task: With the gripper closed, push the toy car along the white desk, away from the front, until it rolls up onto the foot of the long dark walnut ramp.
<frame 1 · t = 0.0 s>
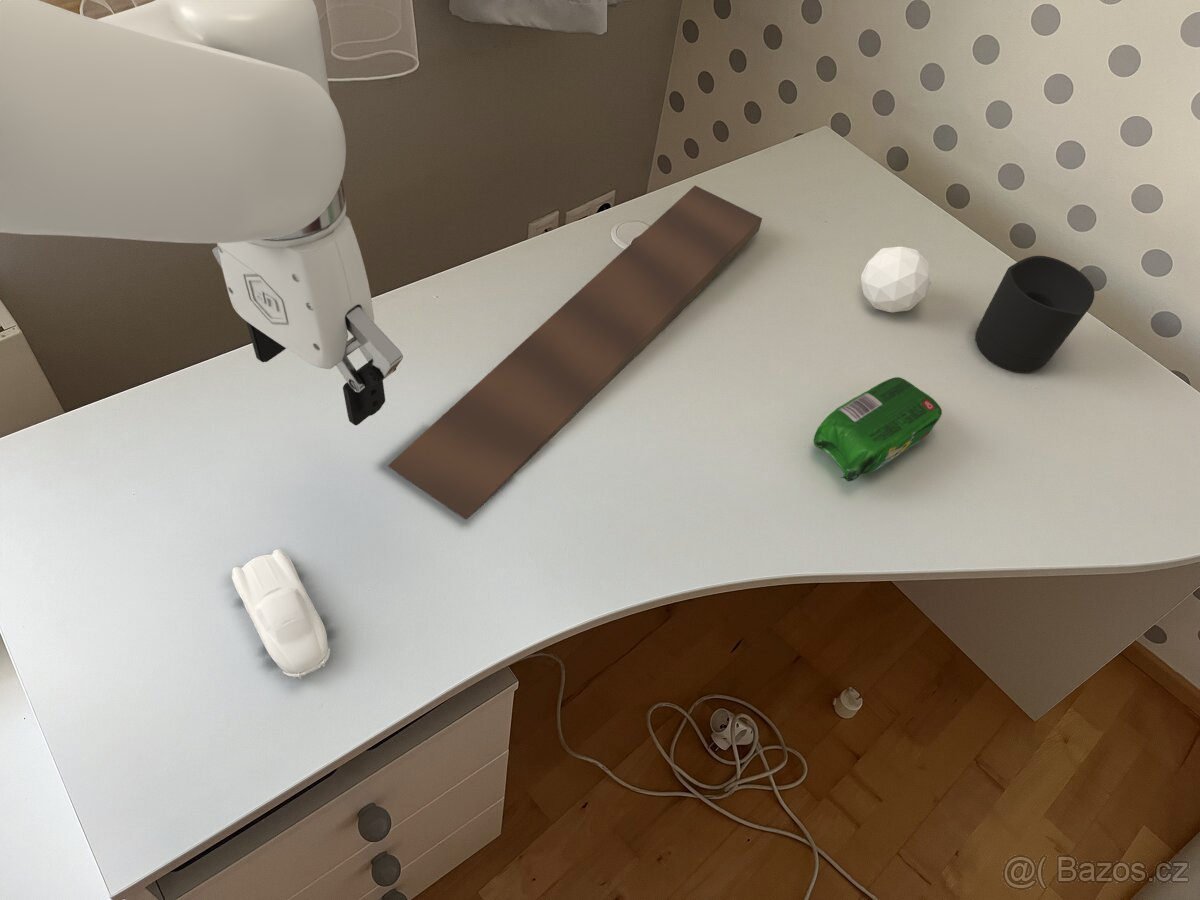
hand: (320, 381, 68), 18 cm above the table, tool pointing down, fingers open, 9 cm apart
pen holder: (1009, 349, 106), on the table
snack package: (868, 444, 94), on the table
geometric ball: (884, 304, 109), on the table
ramp: (597, 337, 100), on the table
toy car: (285, 620, 75), on the table
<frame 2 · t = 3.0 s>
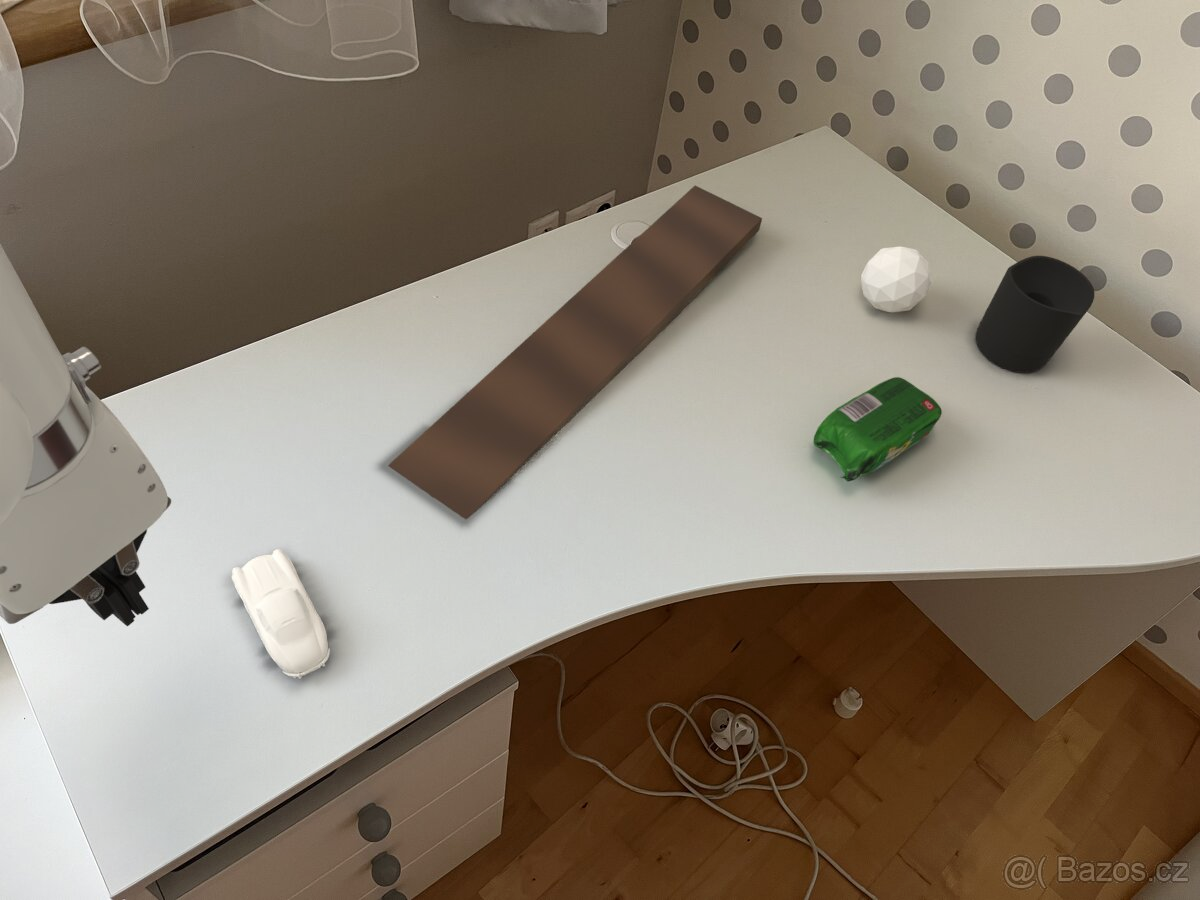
hand: (123, 605, 57), 16 cm above the table, tool pointing down, fingers closed
nothing on the table moved.
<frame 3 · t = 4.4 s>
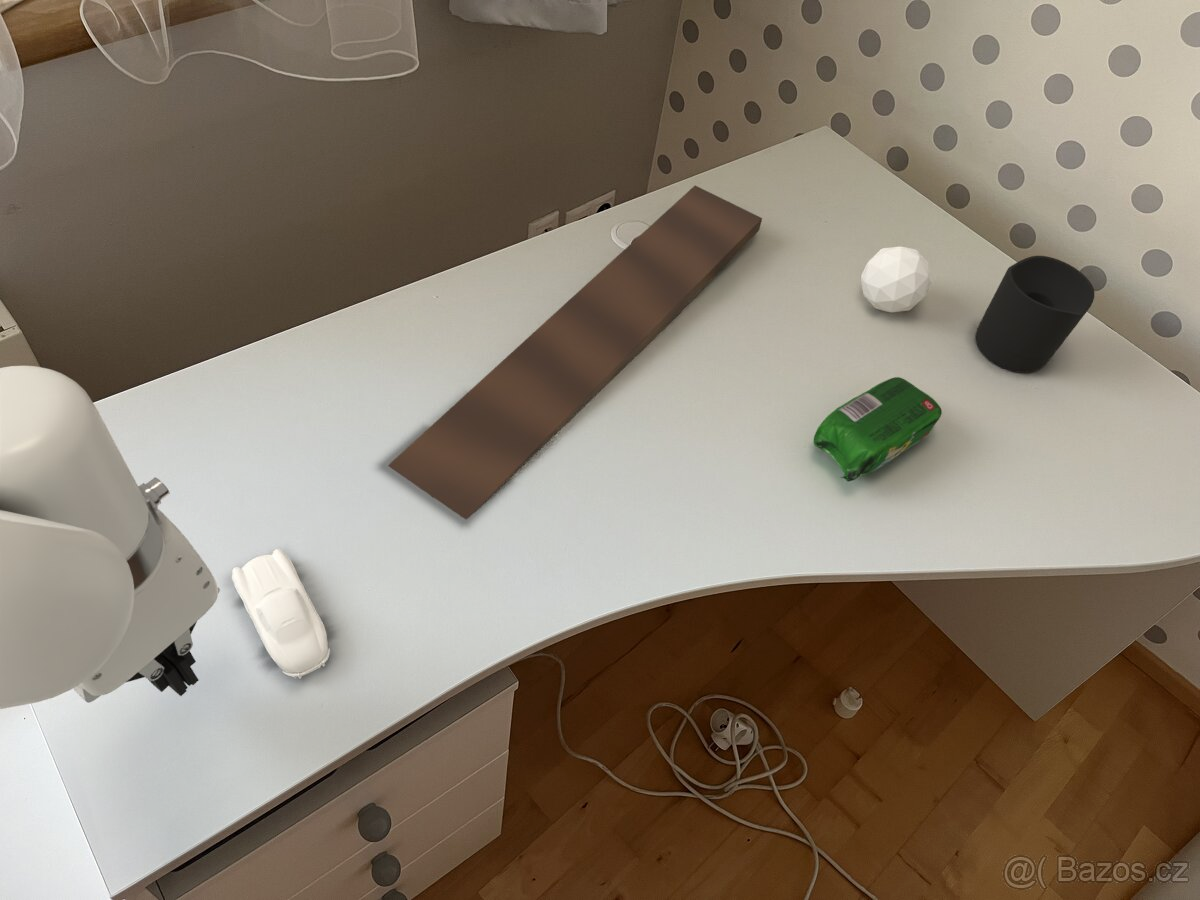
hand: (176, 676, 66), 4 cm above the table, tool pointing down, fingers closed
nothing on the table moved.
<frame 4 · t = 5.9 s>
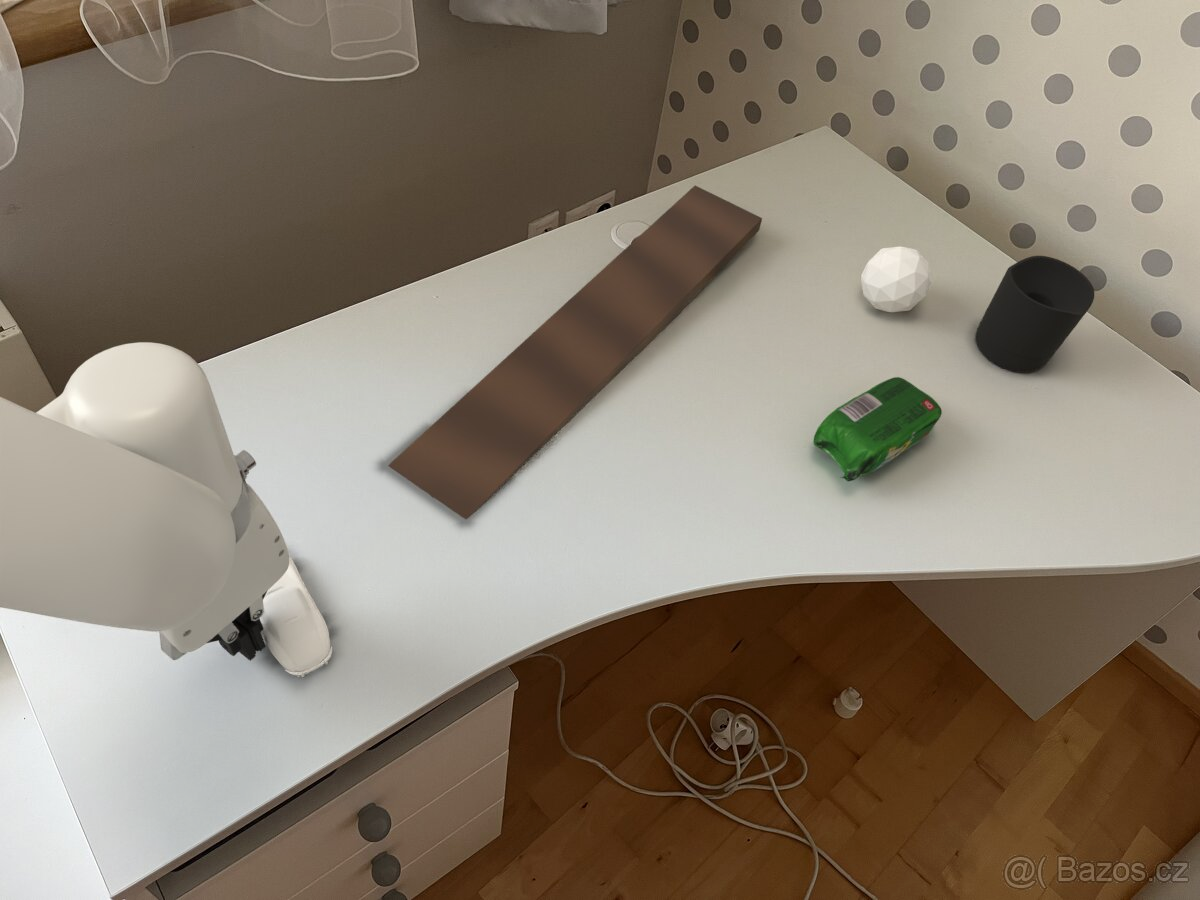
hand: (245, 643, 72), 2 cm above the table, tool pointing down, fingers closed
toy car: (287, 619, 75), on the table, touching gripper
everything else where it was.
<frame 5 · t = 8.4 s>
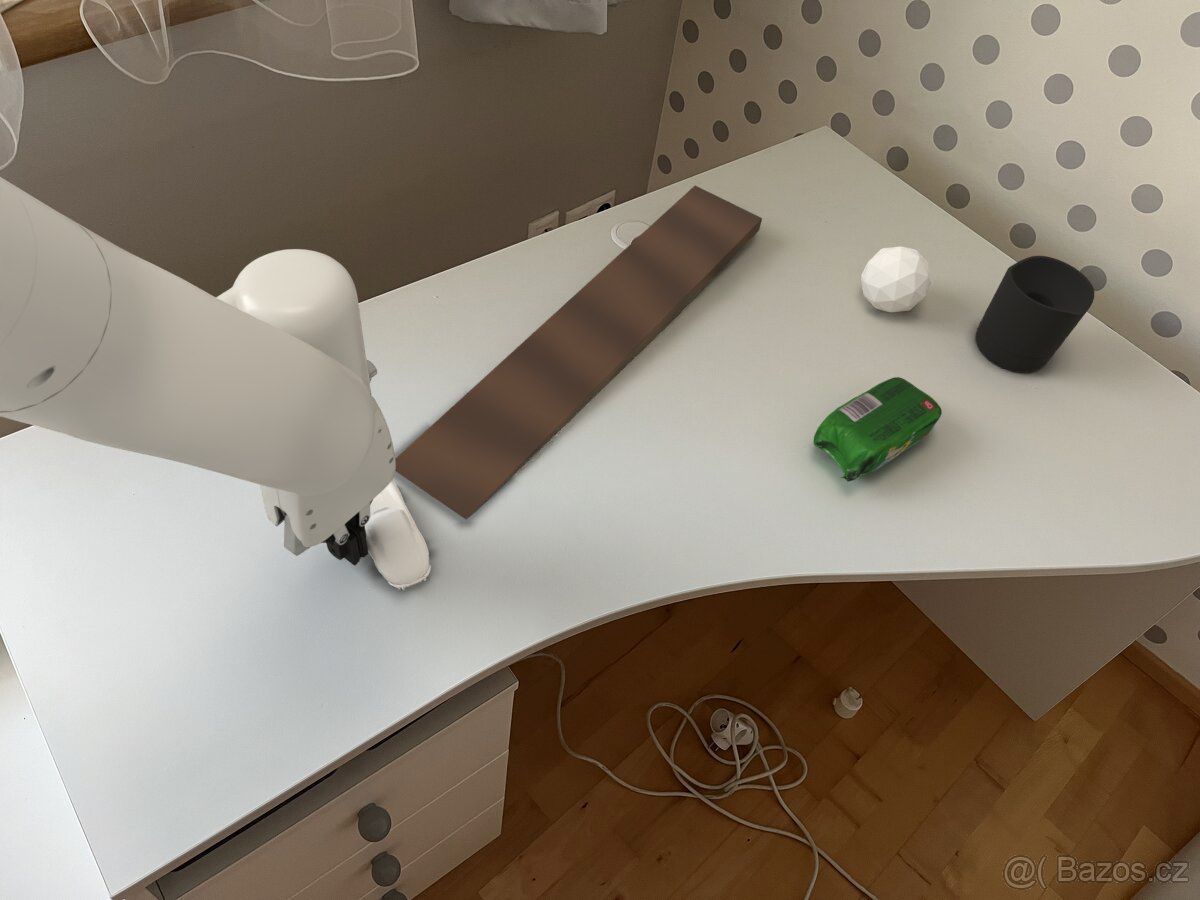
hand: (349, 550, 78), 2 cm above the table, tool pointing down, fingers closed
toy car: (389, 539, 81), on the table, touching gripper
everything else where it was.
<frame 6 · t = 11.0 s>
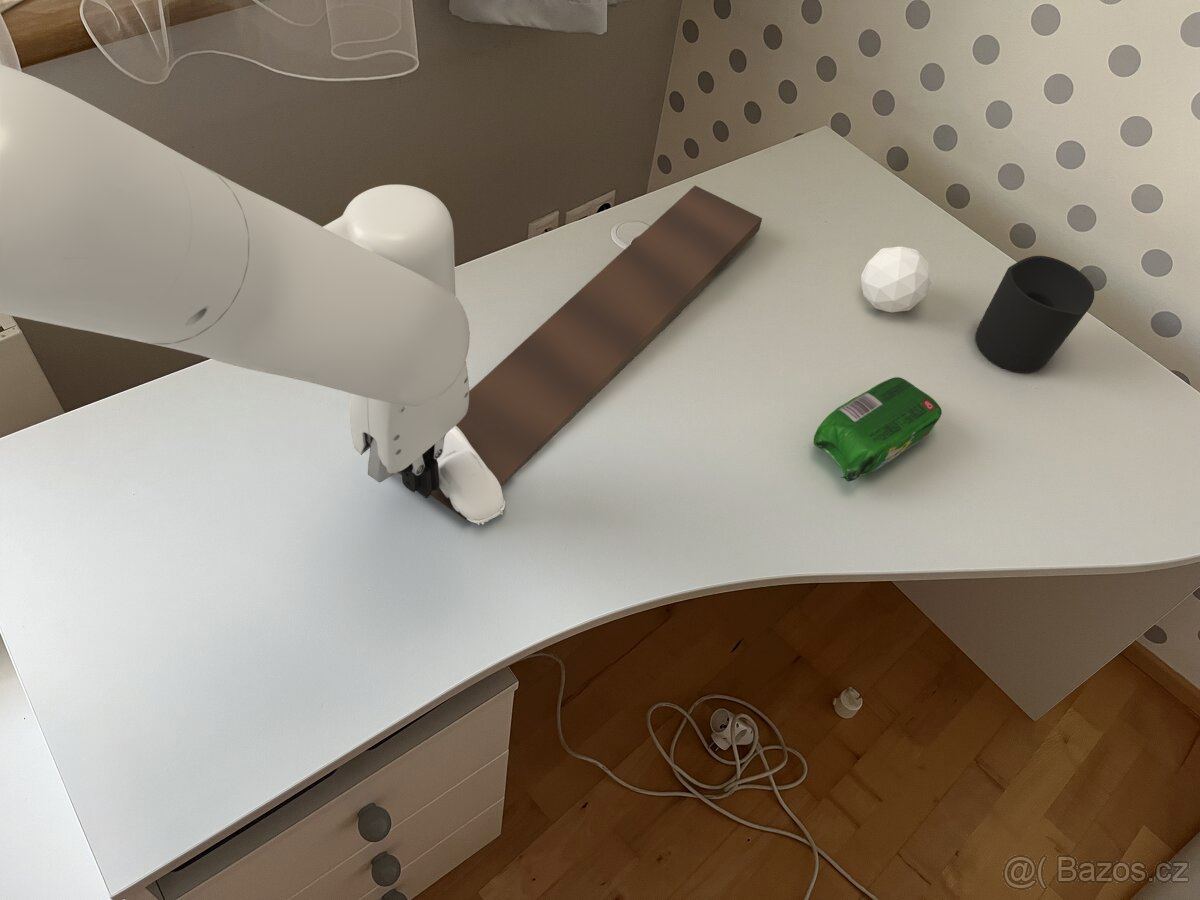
hand: (420, 484, 83), 2 cm above the table, tool pointing down, fingers closed
toy car: (460, 480, 86), on the table, touching gripper, ramp
everything else where it was.
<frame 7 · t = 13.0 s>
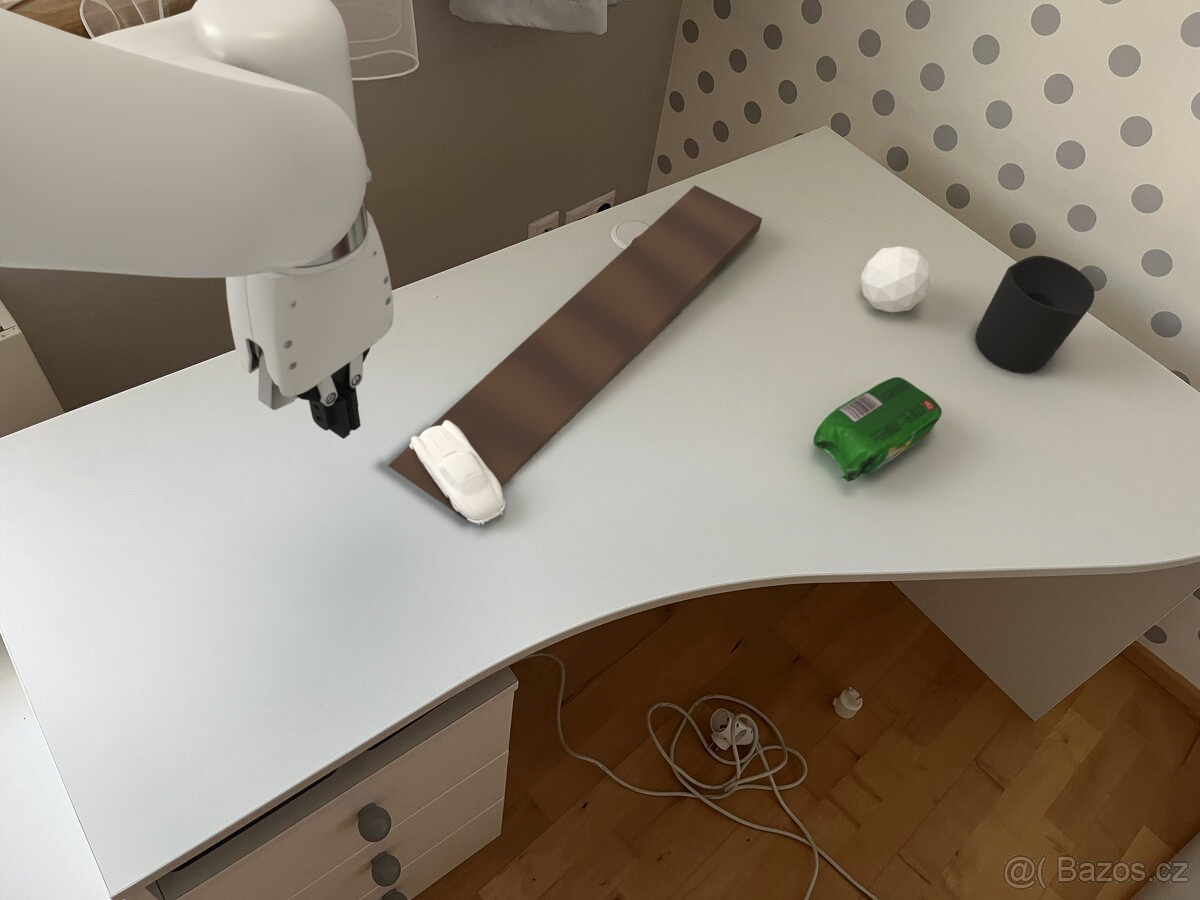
hand: (337, 423, 66), 18 cm above the table, tool pointing down, fingers closed
toy car: (460, 480, 86), on the table, touching ramp
everything else where it was.
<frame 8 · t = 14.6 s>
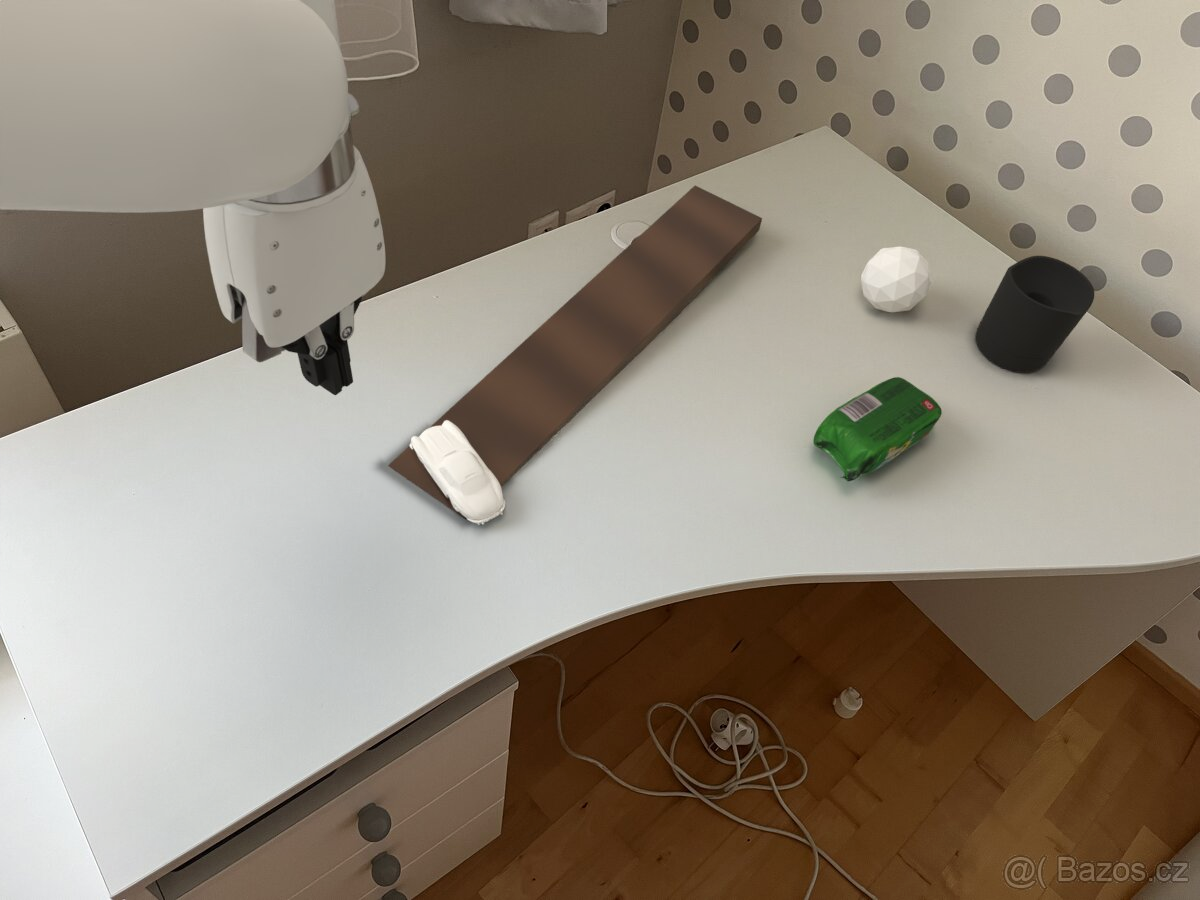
hand: (329, 379, 63), 22 cm above the table, tool pointing down, fingers closed
nothing on the table moved.
at the end: toy car inside the target area on the ramp (3.1 cm from its centre), point 0.0 cm above the ramp's base; toy car touching ramp, table; toy car moved 20.3 cm from its start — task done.
